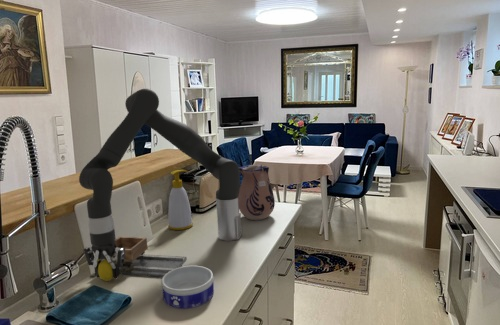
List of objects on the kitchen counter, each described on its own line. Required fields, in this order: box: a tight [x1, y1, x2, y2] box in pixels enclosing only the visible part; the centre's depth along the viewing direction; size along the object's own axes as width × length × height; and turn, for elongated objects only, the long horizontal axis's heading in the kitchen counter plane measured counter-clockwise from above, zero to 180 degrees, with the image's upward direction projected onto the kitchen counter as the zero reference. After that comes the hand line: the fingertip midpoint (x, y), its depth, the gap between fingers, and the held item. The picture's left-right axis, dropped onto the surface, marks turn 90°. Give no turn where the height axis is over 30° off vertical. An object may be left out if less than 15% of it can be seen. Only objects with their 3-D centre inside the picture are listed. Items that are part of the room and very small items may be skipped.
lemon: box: [98, 259, 113, 282], centre depth 123 cm, size 6×6×8 cm
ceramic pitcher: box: [238, 163, 275, 221], centre depth 178 cm, size 18×21×25 cm
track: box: [101, 253, 187, 278], centre depth 133 cm, size 28×14×3 cm, turn 78°
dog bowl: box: [161, 265, 215, 310], centre depth 112 cm, size 15×15×6 cm
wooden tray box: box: [111, 236, 149, 266], centre depth 134 cm, size 11×11×6 cm
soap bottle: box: [167, 169, 194, 231], centre depth 170 cm, size 11×12×26 cm
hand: (107, 277), depth 123 cm, fingers closed on lemon, 5 cm apart
